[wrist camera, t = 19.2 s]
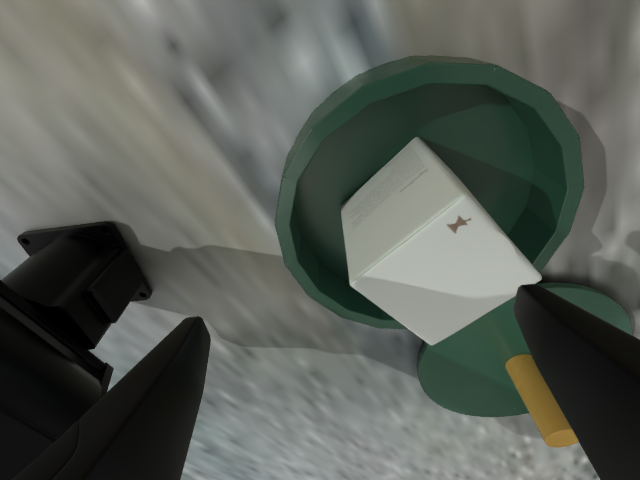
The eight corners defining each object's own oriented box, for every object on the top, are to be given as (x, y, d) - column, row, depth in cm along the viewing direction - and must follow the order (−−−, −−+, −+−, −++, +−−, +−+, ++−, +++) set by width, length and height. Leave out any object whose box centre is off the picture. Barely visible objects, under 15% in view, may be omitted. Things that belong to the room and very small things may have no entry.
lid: (414, 411, 34) (434, 495, 28) (416, 289, 25) (447, 375, 19) (586, 397, 33) (646, 483, 27) (655, 264, 24) (770, 348, 18)
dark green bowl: (305, 304, 26) (303, 340, 23) (254, 79, 17) (241, 91, 14) (516, 281, 24) (543, 317, 21) (576, 28, 16) (635, 30, 13)
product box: (336, 205, 20) (344, 285, 14) (417, 131, 18) (468, 189, 12) (400, 260, 23) (431, 349, 17) (479, 201, 20) (549, 280, 14)
